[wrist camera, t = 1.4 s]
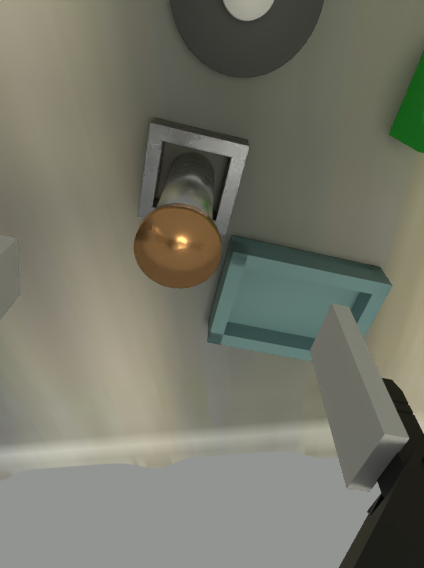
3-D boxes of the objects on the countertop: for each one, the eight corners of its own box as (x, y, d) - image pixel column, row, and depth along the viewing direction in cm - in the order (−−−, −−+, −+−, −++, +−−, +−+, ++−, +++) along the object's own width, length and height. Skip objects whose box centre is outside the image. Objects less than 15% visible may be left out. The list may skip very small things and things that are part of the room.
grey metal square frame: (141, 206, 33) (137, 216, 31) (154, 117, 29) (150, 122, 28) (225, 224, 34) (225, 235, 32) (247, 139, 30) (249, 146, 28)
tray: (208, 321, 39) (207, 342, 36) (232, 235, 34) (233, 251, 32) (339, 346, 40) (347, 367, 38) (380, 267, 35) (392, 285, 33)
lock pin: (160, 195, 32) (129, 279, 21) (169, 139, 30) (139, 201, 19) (213, 207, 33) (210, 295, 22) (226, 153, 31) (230, 221, 19)
